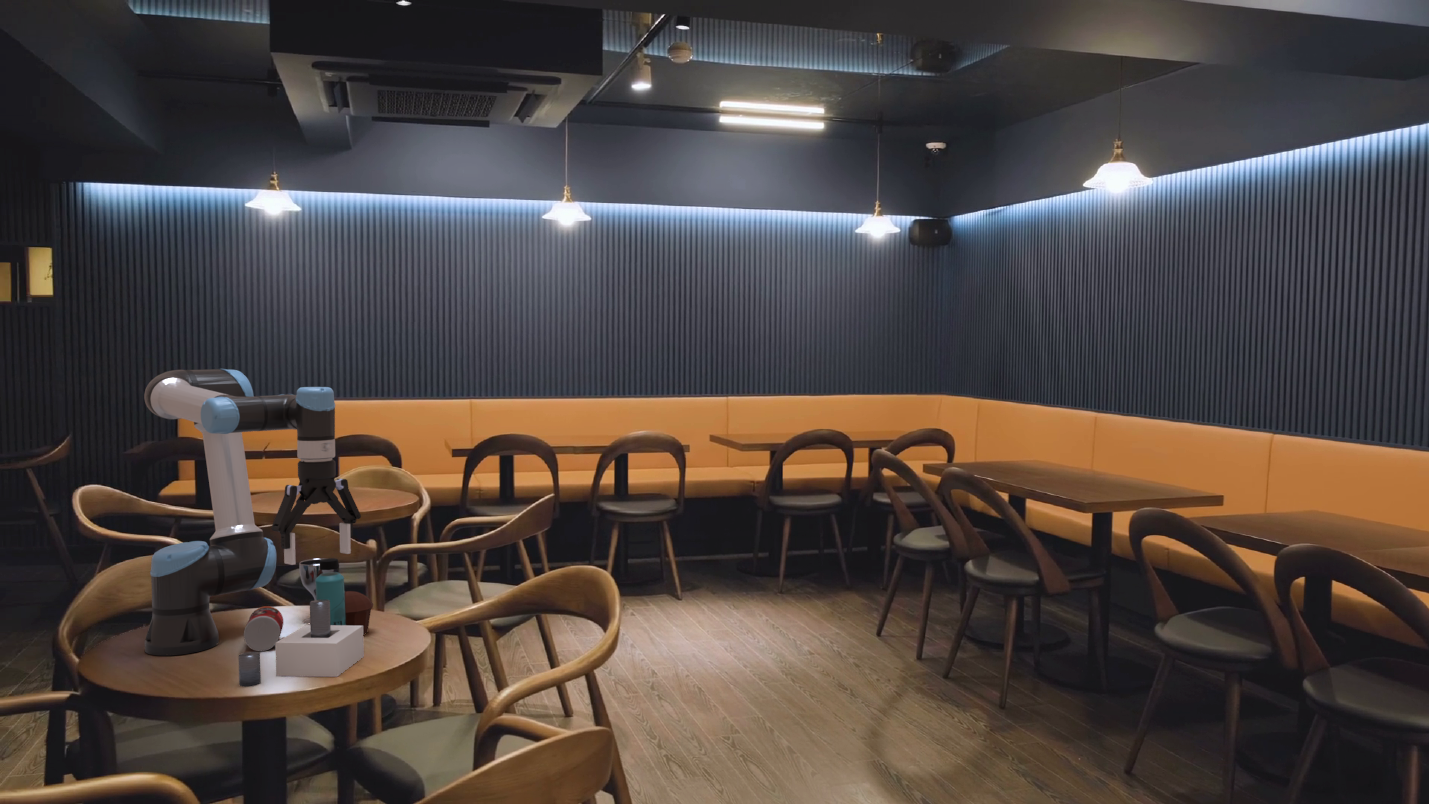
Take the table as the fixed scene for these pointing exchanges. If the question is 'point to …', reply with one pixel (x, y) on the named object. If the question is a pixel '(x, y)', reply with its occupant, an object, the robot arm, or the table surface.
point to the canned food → (263, 628)
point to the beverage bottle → (332, 590)
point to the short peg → (249, 669)
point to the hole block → (319, 652)
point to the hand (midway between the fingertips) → (318, 558)
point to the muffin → (357, 609)
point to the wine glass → (311, 575)
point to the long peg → (320, 618)
